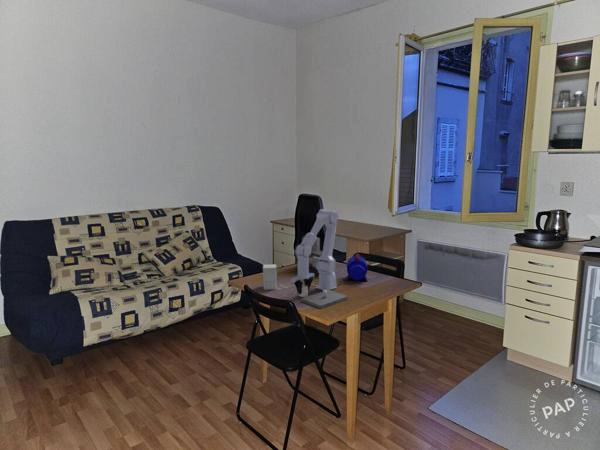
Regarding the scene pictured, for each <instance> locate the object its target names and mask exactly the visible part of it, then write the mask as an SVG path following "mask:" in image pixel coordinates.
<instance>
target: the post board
mask: <svg viewBox="0 0 600 450" xmlns="http://www.w3.org/2000/svg"><path fill="white" fill-rule="evenodd" d="M300 299H301V301H300V302H302V303H305V304H308V305H310V306H313V307H315V308H318V309H324V308H326V307H329V306H333V305H336V304H338V303H341V302H344V301H347V300H348V299H349V295H345V294H342V293H339V292H337V291H334V290H332V289H331V290H322V291H321V292H317V293H314V294H311V295H308V296H306V297H301V298H300Z"/></svg>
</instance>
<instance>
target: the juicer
mask: <svg viewBox="0 0 600 450" xmlns="http://www.w3.org/2000/svg"><path fill="white" fill-rule="evenodd" d="M317 235H318V234H317ZM317 235H316V241H315V242H314V244H313V246H312V249H311V254H310V255H309V273H314V276H316V277H319V272H318V270H317V269H316V264H317V261H318V258H319V257H320V256H321V255H322V253H323V250H320V237H317ZM305 236H306V234H305V235H304V236H303V237H302V238H301V242H302V241H303V239H304V238H305ZM324 261H326V260H324ZM295 269H297V270H298V262H297V264H296V267H295Z"/></svg>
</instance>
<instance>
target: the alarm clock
mask: <svg viewBox="0 0 600 450" xmlns="http://www.w3.org/2000/svg"><path fill="white" fill-rule="evenodd" d="M367 263H368V262H367V261H366V259H365V258H364V257H362V256H360V255H359V253H355V254H354V255H353V256H352V257H350V258H348V260H347V262H346V271H347V275H346V281H347V282H348V281H351V280H354V281H360V280H363V281H365V282H366V283H367V282H368V276H367V273H368V264H367Z"/></svg>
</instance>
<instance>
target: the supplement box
mask: <svg viewBox="0 0 600 450" xmlns="http://www.w3.org/2000/svg"><path fill="white" fill-rule="evenodd" d="M262 280H263V285H262V286H263V287H262V288H263V290H265V291H268V290H269V291H270V290H277V287H278V286H277V284H278V283H277V264H263V265H262Z"/></svg>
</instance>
